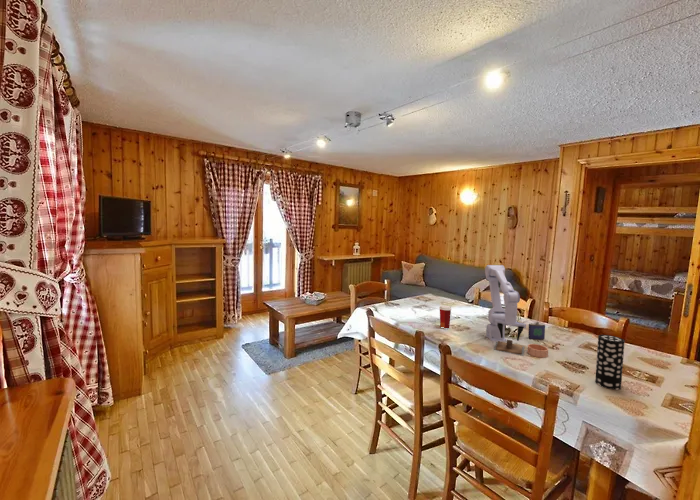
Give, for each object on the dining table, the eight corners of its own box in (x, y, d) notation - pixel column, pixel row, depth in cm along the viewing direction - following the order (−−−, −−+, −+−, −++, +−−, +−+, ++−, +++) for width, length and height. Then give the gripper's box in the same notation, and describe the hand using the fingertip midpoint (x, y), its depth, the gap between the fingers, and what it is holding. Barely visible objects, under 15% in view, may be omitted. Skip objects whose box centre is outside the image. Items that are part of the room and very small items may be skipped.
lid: (495, 349, 162) (496, 342, 162) (498, 342, 172) (498, 336, 172) (521, 354, 156) (521, 347, 156) (522, 347, 166) (522, 340, 166)
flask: (543, 338, 181) (543, 320, 180) (546, 340, 178) (546, 322, 177) (527, 338, 181) (528, 320, 180) (529, 339, 178) (530, 322, 177)
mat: (493, 350, 162) (493, 349, 162) (496, 342, 174) (496, 341, 174) (523, 356, 155) (523, 355, 155) (524, 347, 166) (524, 346, 166)
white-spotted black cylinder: (590, 379, 131) (593, 335, 130) (607, 379, 132) (610, 334, 130) (607, 390, 123) (611, 342, 122) (626, 389, 124) (630, 341, 122)
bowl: (534, 358, 153) (534, 351, 153) (523, 351, 162) (524, 343, 161) (551, 358, 153) (552, 350, 153) (540, 351, 162) (540, 343, 162)
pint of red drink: (450, 326, 201) (451, 305, 200) (450, 330, 194) (451, 308, 193) (438, 325, 204) (439, 304, 203) (438, 328, 197) (438, 307, 196)
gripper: (495, 313, 163) (494, 338, 164) (526, 318, 156) (524, 343, 157) (496, 310, 169) (495, 334, 170) (526, 314, 162) (525, 339, 162)
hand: (509, 338), depth 164 cm, fingers open, 7 cm apart
